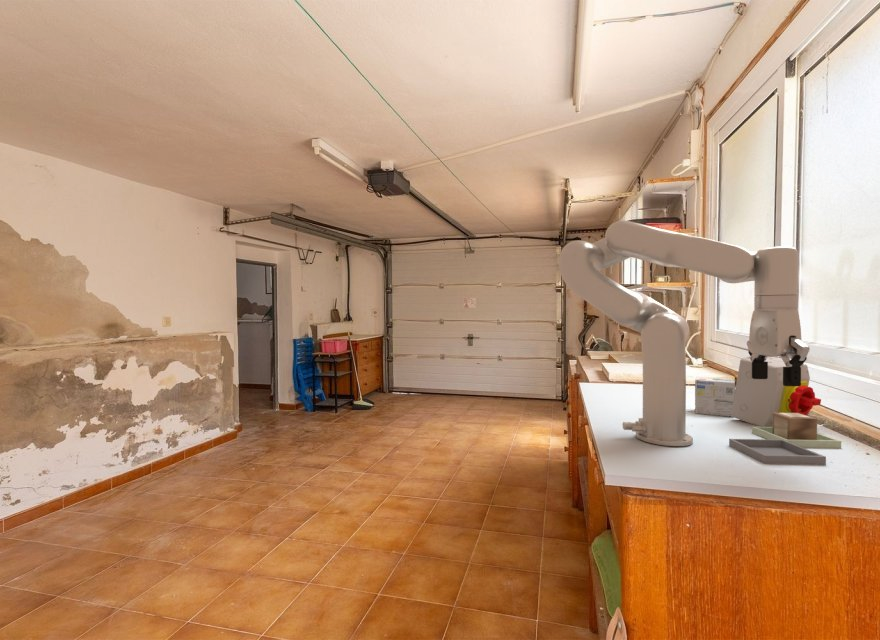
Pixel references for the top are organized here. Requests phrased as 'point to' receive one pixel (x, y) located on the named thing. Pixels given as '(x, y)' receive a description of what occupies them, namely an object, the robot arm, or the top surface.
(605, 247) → the robot arm
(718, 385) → the light bulb box
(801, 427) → the letter block
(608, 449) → the top surface
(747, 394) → the electrical switch box
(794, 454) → the grey tray
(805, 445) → the green tray
